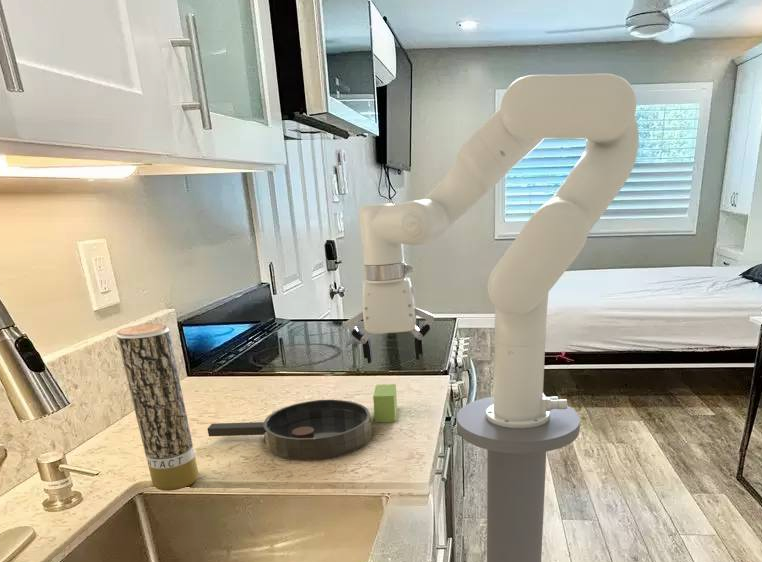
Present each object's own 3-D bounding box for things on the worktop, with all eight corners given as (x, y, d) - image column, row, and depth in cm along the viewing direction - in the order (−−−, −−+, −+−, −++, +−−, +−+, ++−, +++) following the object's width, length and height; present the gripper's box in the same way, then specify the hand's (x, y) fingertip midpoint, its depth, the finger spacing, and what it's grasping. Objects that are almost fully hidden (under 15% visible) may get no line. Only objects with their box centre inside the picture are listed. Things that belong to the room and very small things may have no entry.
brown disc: (317, 432, 108) (317, 427, 107) (308, 440, 104) (307, 435, 104) (298, 430, 109) (297, 425, 108) (288, 439, 105) (287, 434, 105)
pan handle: (269, 429, 107) (267, 421, 106) (265, 434, 105) (264, 426, 104) (213, 431, 107) (211, 423, 106) (208, 436, 105) (207, 428, 104)
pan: (375, 416, 116) (374, 398, 114) (365, 458, 98) (363, 437, 96) (281, 419, 115) (278, 401, 114) (253, 462, 98) (249, 441, 96)
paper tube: (166, 472, 95) (132, 324, 86) (206, 472, 94) (176, 323, 85) (144, 492, 88) (105, 335, 79) (187, 492, 88) (153, 334, 79)
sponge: (397, 408, 120) (395, 384, 117) (395, 421, 113) (393, 395, 111) (378, 409, 119) (376, 384, 117) (375, 422, 113) (373, 396, 111)
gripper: (430, 267, 112) (436, 351, 118) (342, 273, 111) (353, 357, 118) (430, 272, 105) (437, 361, 111) (336, 278, 104) (348, 368, 111)
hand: (394, 359), depth 114 cm, fingers open, 9 cm apart
